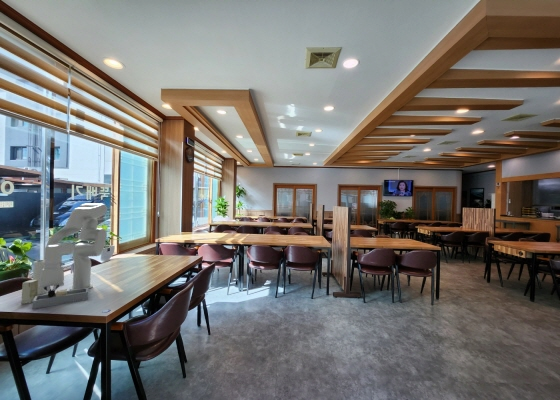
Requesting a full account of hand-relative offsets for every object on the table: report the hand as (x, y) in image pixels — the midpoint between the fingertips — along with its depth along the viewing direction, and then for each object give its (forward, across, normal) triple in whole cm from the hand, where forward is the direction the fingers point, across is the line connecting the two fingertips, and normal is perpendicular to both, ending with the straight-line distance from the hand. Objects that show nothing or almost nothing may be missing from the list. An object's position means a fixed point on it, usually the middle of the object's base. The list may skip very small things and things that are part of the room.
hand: (51, 297), depth 141 cm
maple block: (+1, -4, 0) cm, 5 cm away
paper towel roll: (+4, +7, -26) cm, 27 cm away
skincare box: (+4, +10, -11) cm, 16 cm away
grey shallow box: (+4, -5, 0) cm, 6 cm away
